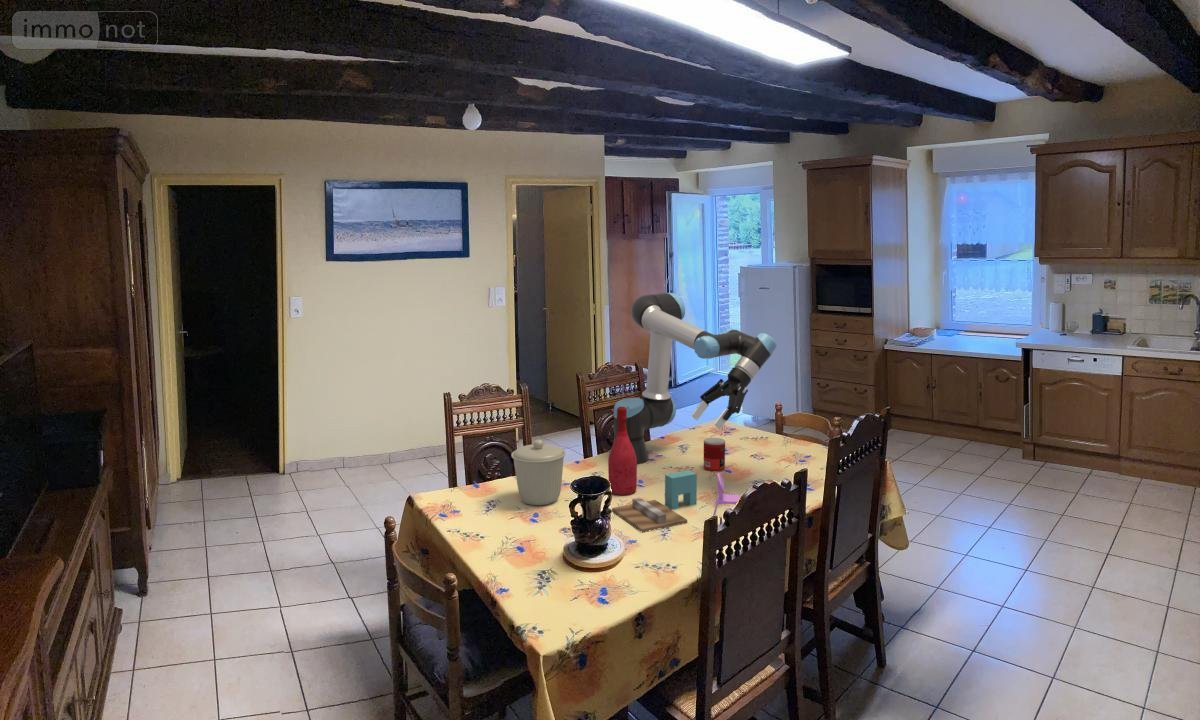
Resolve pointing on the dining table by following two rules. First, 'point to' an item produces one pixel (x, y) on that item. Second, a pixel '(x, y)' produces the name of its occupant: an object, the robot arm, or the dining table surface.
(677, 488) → the clip
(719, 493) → the toy chair
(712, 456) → the canned food
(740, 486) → the dining table surface
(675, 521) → the rail board
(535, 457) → the canister
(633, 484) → the wine bottle
